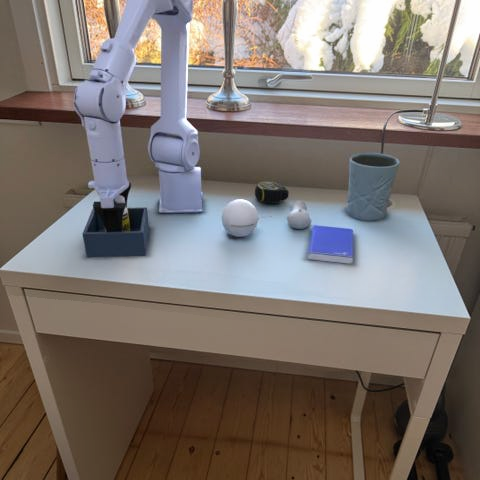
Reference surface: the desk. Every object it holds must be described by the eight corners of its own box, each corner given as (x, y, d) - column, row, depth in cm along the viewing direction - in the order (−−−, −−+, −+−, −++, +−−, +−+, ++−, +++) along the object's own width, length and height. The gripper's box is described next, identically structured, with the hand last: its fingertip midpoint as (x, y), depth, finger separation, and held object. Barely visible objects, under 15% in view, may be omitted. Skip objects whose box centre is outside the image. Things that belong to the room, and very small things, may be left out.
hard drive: (353, 256, 84) (353, 228, 94) (308, 251, 86) (313, 224, 96) (351, 264, 85) (352, 235, 95) (307, 259, 87) (312, 231, 96)
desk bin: (149, 228, 96) (147, 207, 93) (145, 255, 87) (143, 232, 84) (96, 230, 95) (92, 208, 92) (86, 257, 86) (82, 233, 83)
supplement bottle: (125, 246, 88) (119, 204, 83) (102, 244, 89) (95, 202, 84) (135, 236, 92) (130, 195, 87) (112, 233, 93) (106, 192, 88)
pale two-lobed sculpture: (305, 237, 97) (282, 228, 97) (309, 221, 103) (288, 212, 103) (313, 220, 94) (290, 210, 94) (317, 204, 100) (295, 195, 100)
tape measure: (289, 203, 109) (290, 187, 107) (264, 208, 106) (265, 192, 104) (273, 193, 114) (274, 178, 111) (249, 198, 111) (249, 182, 109)
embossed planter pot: (396, 220, 102) (408, 165, 95) (353, 224, 100) (363, 168, 93) (374, 203, 110) (384, 151, 103) (334, 206, 108) (342, 153, 101)
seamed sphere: (219, 242, 91) (219, 207, 87) (223, 226, 97) (223, 192, 93) (270, 245, 91) (272, 209, 87) (271, 229, 97) (273, 195, 93)
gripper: (90, 146, 87) (102, 214, 95) (76, 171, 75) (90, 247, 83) (129, 145, 87) (137, 214, 95) (120, 170, 76) (130, 246, 84)
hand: (118, 229), depth 89 cm, fingers open, 7 cm apart
